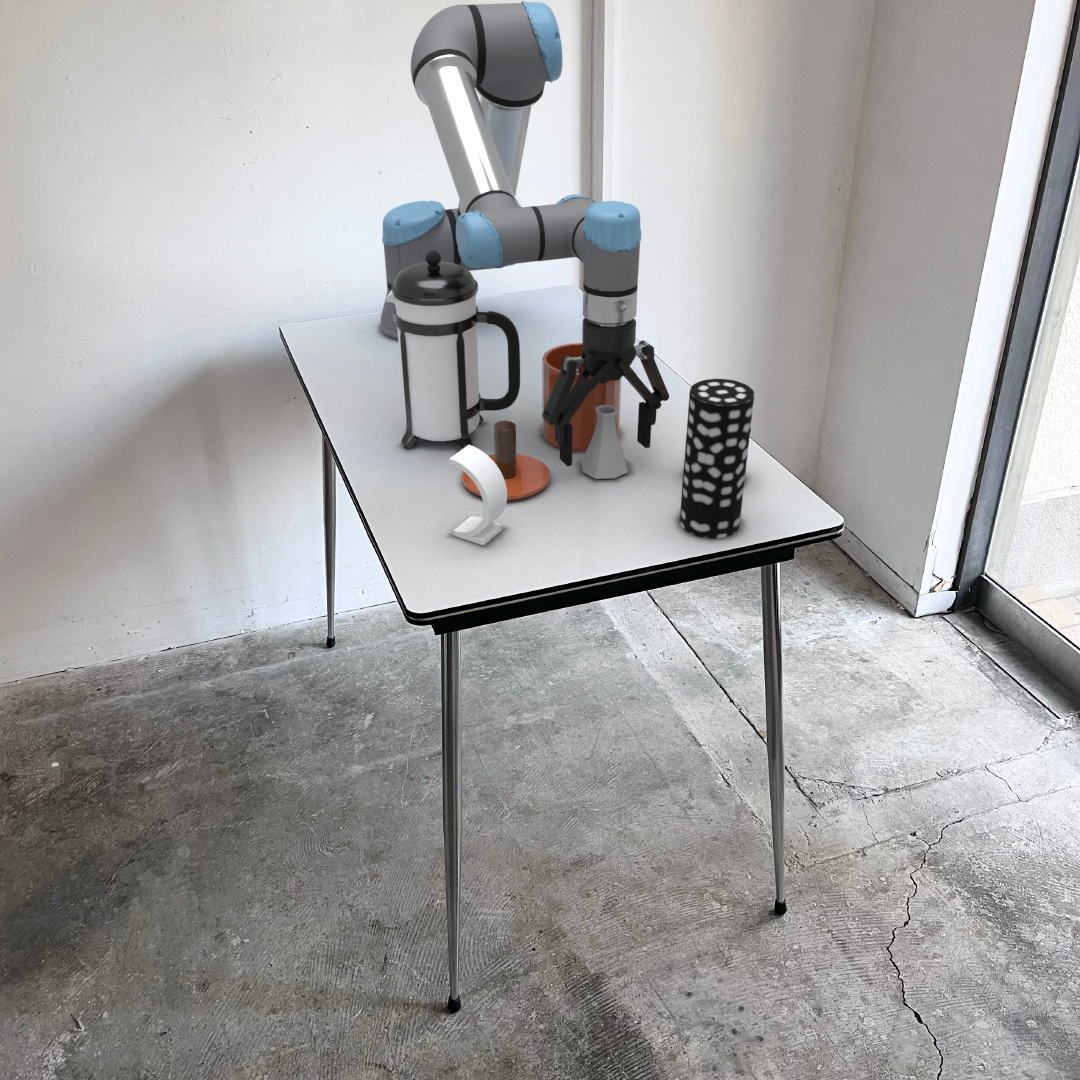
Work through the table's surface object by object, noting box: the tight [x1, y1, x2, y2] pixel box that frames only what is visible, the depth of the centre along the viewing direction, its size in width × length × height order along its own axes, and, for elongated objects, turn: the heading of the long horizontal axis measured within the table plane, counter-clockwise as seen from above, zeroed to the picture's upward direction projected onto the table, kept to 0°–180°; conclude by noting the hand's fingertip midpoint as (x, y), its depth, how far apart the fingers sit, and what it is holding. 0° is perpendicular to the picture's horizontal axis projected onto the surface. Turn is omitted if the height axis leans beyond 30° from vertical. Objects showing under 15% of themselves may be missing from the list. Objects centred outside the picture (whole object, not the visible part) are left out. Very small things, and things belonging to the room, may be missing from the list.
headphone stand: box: [448, 445, 508, 546], centre depth 147 cm, size 5×6×12 cm
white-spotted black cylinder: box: [679, 378, 755, 540], centre depth 147 cm, size 8×8×20 cm
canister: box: [541, 342, 622, 452], centre depth 172 cm, size 12×12×13 cm
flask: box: [580, 405, 629, 480], centre depth 163 cm, size 7×7×10 cm
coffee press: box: [384, 251, 521, 450], centre depth 167 cm, size 17×16×30 cm
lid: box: [461, 420, 551, 501], centre depth 160 cm, size 13×13×9 cm
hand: (605, 453), depth 164 cm, fingers open, 12 cm apart
